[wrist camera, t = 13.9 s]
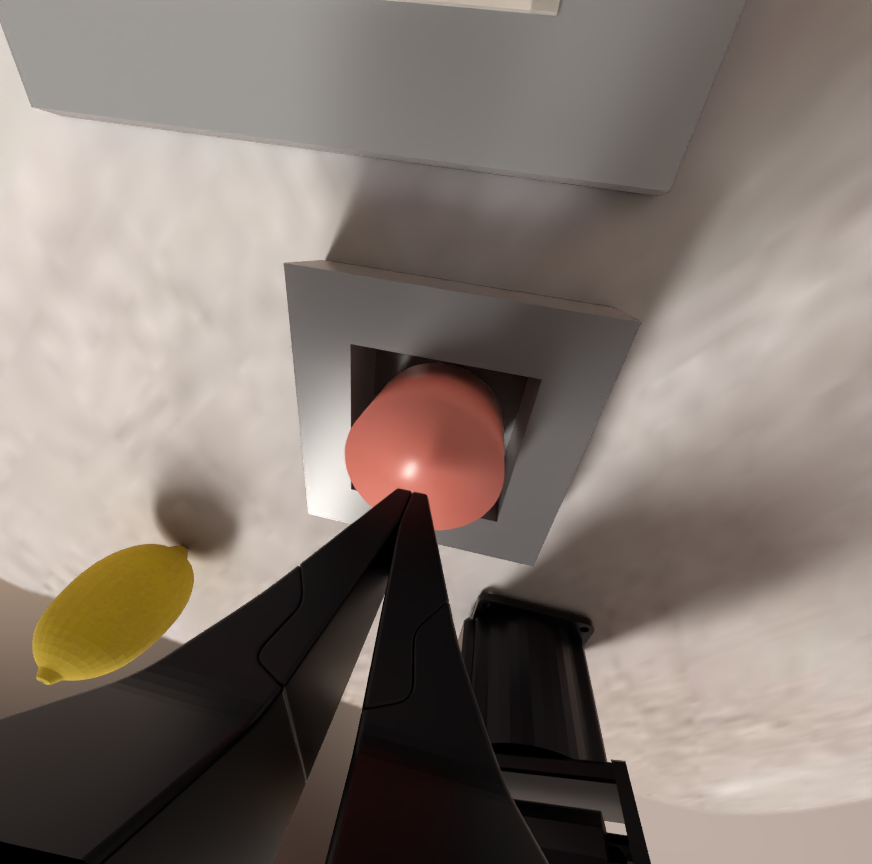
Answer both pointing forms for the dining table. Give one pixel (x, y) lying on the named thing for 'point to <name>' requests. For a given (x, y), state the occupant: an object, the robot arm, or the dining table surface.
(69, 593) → the lemon
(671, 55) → the picture board
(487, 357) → the button frame
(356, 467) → the button
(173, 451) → the dining table surface
